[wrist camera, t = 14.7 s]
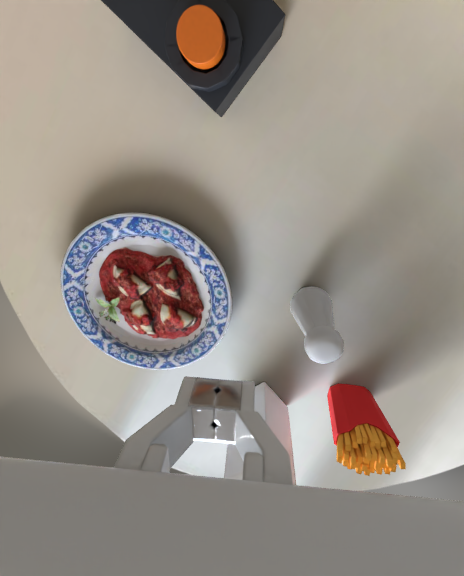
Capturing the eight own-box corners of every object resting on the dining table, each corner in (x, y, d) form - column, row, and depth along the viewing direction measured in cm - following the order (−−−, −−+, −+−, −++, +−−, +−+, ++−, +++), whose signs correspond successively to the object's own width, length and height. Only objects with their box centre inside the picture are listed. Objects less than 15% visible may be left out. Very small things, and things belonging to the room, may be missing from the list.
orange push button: (173, 46, 28) (166, 38, 26) (200, 2, 26) (195, -10, 24) (206, 80, 28) (202, 75, 27) (234, 39, 27) (232, 31, 25)
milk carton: (288, 406, 54) (301, 526, 37) (256, 422, 56) (253, 542, 39) (264, 380, 52) (266, 495, 35) (232, 398, 54) (219, 513, 37)
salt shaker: (280, 302, 45) (288, 356, 34) (304, 273, 43) (321, 319, 31) (312, 321, 46) (329, 380, 35) (336, 294, 44) (364, 346, 32)
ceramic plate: (227, 205, 40) (225, 209, 37) (237, 362, 51) (236, 374, 48) (46, 213, 43) (32, 217, 40) (92, 360, 53) (83, 372, 51)
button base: (124, 21, 33) (88, -12, 26) (178, -80, 29) (153, -150, 22) (221, 117, 36) (212, 109, 29) (281, 36, 32) (287, 5, 25)
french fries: (377, 387, 50) (413, 460, 39) (370, 406, 52) (402, 481, 40) (322, 380, 51) (341, 450, 39) (317, 399, 53) (334, 471, 41)
